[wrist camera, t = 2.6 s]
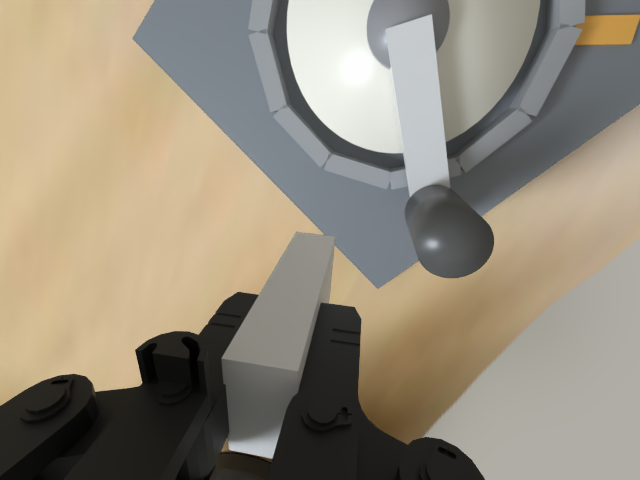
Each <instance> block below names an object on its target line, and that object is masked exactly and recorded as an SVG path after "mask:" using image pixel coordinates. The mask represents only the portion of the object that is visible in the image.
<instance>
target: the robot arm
mask: <svg viewBox="0 0 640 480" xmlns="http://www.w3.org/2000/svg"><path fill="white" fill-rule="evenodd" d="M334 244H335V236H327V235H318V234H309V233H301V232H296V233H295V235H294V237H293V238H292V240H291V242H290V243H289V245H288V247H287V248H286V250H285V252H284V253H283V255H282V257H281V258H280V260H279V262H278V264H277V265H276V267H275V269H274V270H273V272H272V274H271V275H270V277H269V279H268V280H267V282H266V284H265V286H264V287H263V289H262V291H261V292H260V294H259V295H256V294H249V293H242V292H237V293H236V294H234V295H233V296H231V297H230V298H228V299H226V300H225V301H224V302H223V303H222V305H221V306H220V307H219V309H218V310H217V311H216V314H215V315H213V317H212V318H211V319H210V321H209V322H208V325H206V326H205V327H204V329H203V330H202V331H201V333H200V334H199V335H197V334H194V333H191V332H183V331H174V332H170V333H165V334H161V335H158V336H156V337H154V338H152V339H150V340H148V341H146V342H145V343H143V344H142V345H141V346H140V347H138V348H137V349H136V350H135V351H136V356H137V360H138V365H139V369H140V373H141V378H142V382H143V383H142V384H141V385H140V386H138V387H133V388H127V389H118V390H109V391H100V392H95V390H94V387H93V384H92V382H91V381H90V380H89V379H88V378H87V377H85V376H81V375H77V374H70V375H60V376H56V377H53V378H50V379H47V380H44V381H41V382H40V383H38V384H36V385H34V386H32V387H30V388H28V389H26V390H25V391H23V392H21V393H20V394H18V395H17V396H15V397H14V398H12V399H11V400H9V401H7V402H6V403H4V404H3V405H1V406H0V480H485V479H484V477H483V476H482V474H481V473H480V471H479V470H478V468H477V467H476V465H475V464H474V463H473V461H472V460H471V459H470V458H469V457H468V456H467V455H465V454H464V453H463V452H462V451H461V450H460V449H459V448H457V447H456V446H454V445H452V444H450V443H448V442H446V441H443V440H441V439H436V438H429V437H424V438H421V439H417V440H413V441H412V442H411V443H410V444H409V445H407V444H405V443H403V442H401V441H399V440H397V439H395V438H393V437H391V436H389V435H388V434H386V433H384V432H383V431H381V430H380V429H378V428H377V427H375V426H374V425H373V424H372V423H371V422H370V421H369V420H368V418H367V417H366V415H365V414H364V412H363V411H362V409H361V406H360V404H359V400H358V378H359V357H360V336H361V335H360V334H361V318H360V316H359V314H358V313H357V311H356V309H355V307H349V306H342V305H335V304H328V303H329V298H330V289H331V277H332V266H333V255H334ZM227 436H228V442H229V450H232V451H237V452H242V453H247V454H252V455H257V456H262V457H266V458H271V459H272V462H271V464H270V463H268V462H265V461H263V460H261V459H258V458H255V457H251V456H247V455H241V454H220V452H221V450H222V448H223V445H224V443H225V441H226V439H227Z"/></svg>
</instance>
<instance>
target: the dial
mask: <svg viewBox="0 0 640 480" xmlns="http://www.w3.org/2000/svg"><path fill="white" fill-rule="evenodd" d="M539 8H540V0H289V3H288V10H287V41H288V50H289V56H290V61H291V66H292V69H293V72H294V75H295V78H296V81H297V83H298V86H299V88H300V90H301V92H302V95H303V96H304V98H305V100H306V101H307V103H308V105H309V106H310V108H311V109H312V110H313V112H314V113H315V114H316V115H317V117H318V118H319V119H320V120H321V121H322V122H323V123H324V124H325V125H326V126H327V127H328V128H329V129H330V130H332V131H333V132H334V133H336V134H337V135H338V136H340V137H341V138H343V139H345V140H347V141H348V142H350V143H352V144H354V145H357V146H359V147H362V148H365V149H368V150H372V151H377V152H384V153H403V156H404V163H405V169H406V176H407V182H408V189H409V195H410V198H409V200H408V202H407V204H406V207H405V220H406V224H407V227H408V230H409V233H410V236H411V239H412V242H413V245H414V248H415V251H416V254H417V257H418V259H419V261H420V263H421V264H422V266H423V267H424V268H425V269H426V270H428V271H429V272H430V273H432V274H434V275H437V276H440V277H444V278H459V277H463V276H467V275H469V274H472V273H473V272H475V271H477V270H478V269H480V268H481V267H482V266H483V265H484V264H485V263H486V262H487V260H488V259H489V257H490V255H491V253H492V250H493V246H494V236H493V232H492V230H491V228H490V226H489V224H488V223H487V222H486V221H485V220H484V219H483V218H482V217H481V216H480V215H479V214H478V213H477V212H476V211H475V210H474V209H473V208H472V207H470V206H469V205H468V204H467V203H466V202H465V201H464V200H463V199H462V198H461V197H460V196H459V195H458V194H457V193H456V192H455V191H454V190H452V189H451V188H450V180H449V171H448V162H447V152H446V143H445V142H447V141H449V140H451V139H453V138H455V137H456V136H458V135H460V134H462V133H463V132H465V131H466V130H468V129H469V128H470V127H472V126H473V125H474V124H476V123H477V122H478V121H479V120H481V119H482V118H483V117H484V116H485V115H486V114H487V113H488V112H489V111H490V110H491V109H492V108H493V107H494V106H495V105H496V103H497V102H498V101H499V100H500V99H501V98H502V96H503V95H504V94H505V92H506V91H507V89H508V88H509V87H510V85H511V84H512V82H513V81H514V79H515V77H516V75H517V74H518V72H519V70H520V68H521V66H522V64H523V62H524V60H525V58H526V55H527V53H528V50H529V48H530V46H531V42H532V39H533V35H534V32H535V29H536V25H537V19H538V13H539Z"/></svg>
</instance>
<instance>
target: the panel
mask: <svg viewBox="0 0 640 480" xmlns="http://www.w3.org/2000/svg"><path fill="white" fill-rule="evenodd" d="M288 3H289V0H155V1H154V3H153V4H152V6H151V8H150V9H149V11H148V13H147V15H146V16H145V18H144V20H143V21H142V23H141V25H140V26H139V28H138V30H137V32H136V33H135V35H134V37H133V38H132V39H133V40H134V41H135V42H136V43H137V44H138V45H139V46H140V47H141V48H142V49H143V50H144V51H145V52H146V53H147V54H148V55H149V56H150V57H151V58H152V59H153V60H154V61H155V62H156V63H157V64H158V65H159V66H160V67H161V68H162V69H163V70H164V71H165V72H166V73H167V74H168V75H169V77H170V78H171V79H172V80H173V81H174V82H175V83H176V84H177V85H178V86H179V87H180V88H181V89H182V90H183V91H184V92H185V93H186V94H187V95H188V96H189V97H190V98H191V99H192V100H193V101H194V102H195V103H196V104H197V105H198V106H199V107H200V108H201V109H202V110H203V111H204V112H205V113H206V114H207V115H208V116H209V117H210V118H211V119H212V120H213V121H214V122H215V123H216V124H217V125H218V126H219V127H220V129H221V130H222V131H223V132H224V133H225V134H226V135H227V136H228V137H229V138H230V139H231V140H232V141H233V142H234V143H235V144H236V145H237V146H238V147H239V148H240V149H241V150H242V151H243V152H244V153H245V154H246V155H247V156H248V157H249V158H250V159H251V160H252V161H253V162H254V163H255V164H256V165H257V166H258V167H259V168H260V169H261V170H262V171H263V172H264V173H265V174H266V175H267V176H268V177H269V178H270V179H271V181H272V182H273V183H274V184H275V185H276V186H277V187H278V188H279V189H280V190H281V191H282V192H283V193H284V194H285V195H286V196H287V197H288V198H289V199H290V200H291V201H292V202H293V203H294V204H295V205H296V206H297V207H298V208H299V209H300V210H301V211H302V212H303V213H304V214H305V215H306V216H307V217H308V218H309V219H310V220H311V221H312V222H313V223H314V224H315V225H316V226H317V227H318V228H319V229H320V230H321V231H322V233H323V234H324V235H327V236H335V244H334V245H335V246H336V247H337V248H338V249H339V250H340V251H341V252H342V253H343V254H344V255H345V256H346V257H347V258H348V259H349V260H350V261H351V262H352V263H353V264H354V265H355V266H356V267H357V268H358V269H359V270H360V271H361V272H362V273H363V274H364V275H365V276H366V277H367V278H368V279H369V280H370V281H371V282H372V283H373V285H374V286H375V287H376V288H377V289H378V288H380V287H381V286H383V285H384V284H386V283H387V282H388V281H390V280H391V279H393V278H394V277H395V276H397V275H398V274H400V273H401V272H403V271H404V270H405V269H407V268H408V267H410V266H411V265H412V264H414V263H415V262H417V261H418V260H419V259H418V257H417V254H416V251H415V248H414V245H413V242H412V239H411V236H410V233H409V230H408V227H407V224H406V220H405V207H406V204H407V202H408V200H409V198H410V195H409V189H408V182H407V176H406V169H405V163H404V156H403V153H384V152H377V151H372V150H368V149H365V148H362V147H359V146H357V145H354V144H352V143H350V142H348V141H347V140H345V139H343V138H341V137H340V136H338V135H337V134H336V133H334V132H333V131H332V130H330V129H329V128H328V127H327V126H326V125H325V124H324V123H323V122H322V121H321V120H320V119H319V118H318V117H317V115H316V114H315V113H314V112H313V110H312V109H311V108H310V106H309V105H308V103H307V101H306V100H305V98H304V96H303V95H302V92H301V90H300V88H299V86H298V83H297V81H296V78H295V75H294V72H293V69H292V66H291V61H290V56H289V50H288V41H287V10H288ZM639 104H640V0H540V8H539V13H538V19H537V25H536V29H535V32H534V35H533V39H532V42H531V46H530V48H529V50H528V53H527V55H526V58H525V60H524V62H523V64H522V66H521V68H520V70H519V72H518V74H517V75H516V77H515V79H514V81H513V82H512V84H511V85H510V87H509V88H508V89H507V91H506V92H505V94H504V95H503V96H502V98H501V99H500V100H499V101H498V102H497V103H496V105H495V106H494V107H493V108H492V109H491V110H490V111H489V112H488V113H487V114H486V115H485V116H484V117H483V118H482V119H481V120H479V121H478V122H477V123H476V124H474V125H473V126H472V127H470V128H469V129H468V130H466V131H465V132H463V133H462V134H460V135H458V136H456V137H455V138H453V139H451V140H449V141H447V142H445V143H446V152H447V162H448V171H449V180H450V188H451V189H452V190H454V191H455V192H456V193H457V194H458V195H459V196H460V197H461V198H462V199H463V200H464V201H465V202H466V203H467V204H468V205H469V206H470V207H472V208H473V209H474V210H475V211H476V212H477V213H478V214H479V215H480V216H482V215H483V214H485V213H486V212H487V211H489V210H490V209H492V208H493V207H494V206H496V205H497V204H499V203H500V202H501V201H503V200H504V199H506V198H507V197H509V196H510V195H511V194H513V193H514V192H516V191H517V190H518V189H520V188H521V187H523V186H524V185H525V184H527V183H528V182H530V181H531V180H533V179H534V178H535V177H537V176H538V175H540V174H541V173H542V172H544V171H545V170H547V169H548V168H550V167H551V166H552V165H554V164H555V163H557V162H558V161H559V160H561V159H562V158H564V157H565V156H566V155H568V154H569V153H571V152H572V151H574V150H575V149H576V148H578V147H579V146H581V145H582V144H583V143H585V142H586V141H588V140H589V139H591V138H592V137H593V136H595V135H596V134H598V133H599V132H600V131H602V130H603V129H605V128H606V127H607V126H609V125H610V124H612V123H613V122H615V121H616V120H617V119H619V118H620V117H622V116H623V115H624V114H626V113H627V112H629V111H630V110H632V109H633V108H634V107H636V106H637V105H639Z"/></svg>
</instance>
